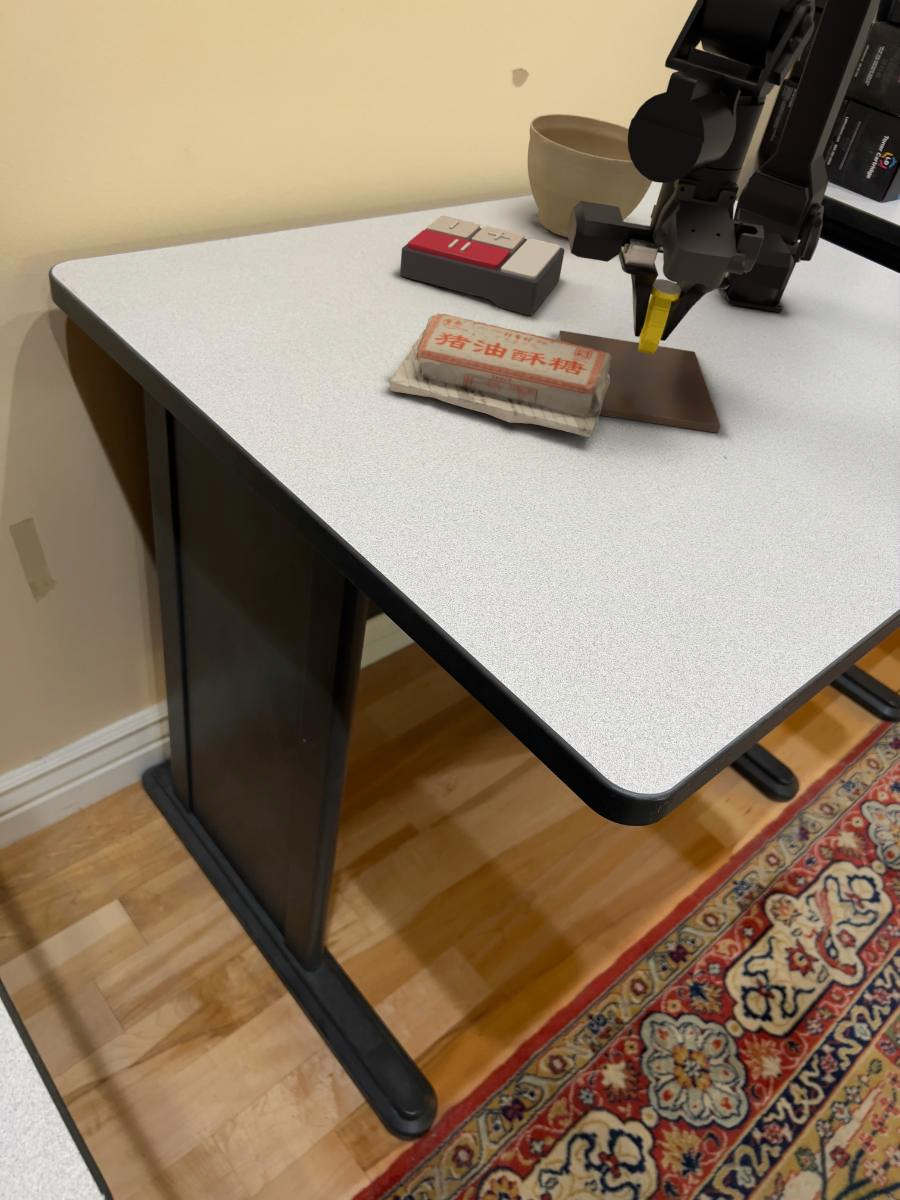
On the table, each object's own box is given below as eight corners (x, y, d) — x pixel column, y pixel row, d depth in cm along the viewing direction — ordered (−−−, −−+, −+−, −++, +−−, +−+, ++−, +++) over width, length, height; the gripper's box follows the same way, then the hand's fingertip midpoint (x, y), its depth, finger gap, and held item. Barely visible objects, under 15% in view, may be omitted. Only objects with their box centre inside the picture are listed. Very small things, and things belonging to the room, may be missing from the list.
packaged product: (621, 338, 78) (603, 392, 71) (609, 387, 81) (590, 443, 74) (426, 294, 80) (390, 341, 73) (422, 343, 84) (387, 393, 77)
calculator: (439, 210, 99) (567, 241, 96) (435, 249, 102) (560, 279, 99) (400, 240, 92) (538, 275, 89) (398, 281, 94) (531, 316, 91)
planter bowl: (622, 267, 105) (650, 171, 98) (495, 229, 108) (513, 132, 100) (648, 226, 117) (675, 138, 109) (533, 193, 119) (552, 104, 112)
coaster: (692, 358, 90) (694, 351, 90) (718, 433, 80) (721, 425, 80) (557, 337, 89) (559, 329, 89) (566, 410, 79) (568, 402, 78)
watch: (632, 329, 84) (651, 268, 80) (661, 336, 84) (681, 275, 80) (629, 357, 80) (649, 295, 76) (659, 365, 80) (681, 302, 76)
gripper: (602, 171, 64) (554, 364, 75) (848, 213, 66) (766, 397, 76) (590, 126, 72) (547, 306, 83) (809, 164, 74) (739, 336, 85)
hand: (649, 336), depth 82 cm, fingers closed on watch, 2 cm apart
